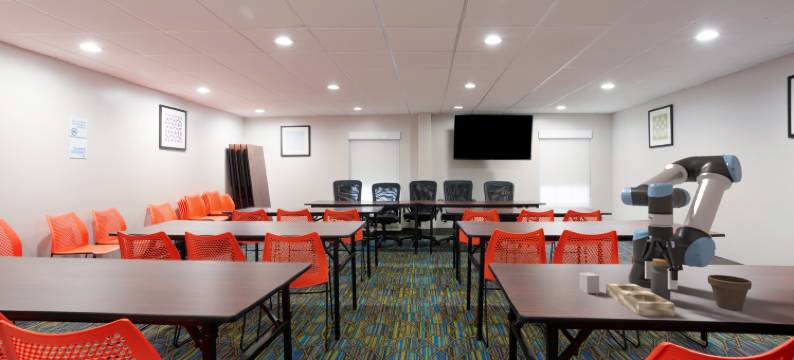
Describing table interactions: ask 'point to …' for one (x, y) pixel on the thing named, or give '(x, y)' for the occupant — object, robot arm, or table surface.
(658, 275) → the bottle
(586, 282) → the square bit
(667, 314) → the bore block
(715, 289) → the flower pot
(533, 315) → the table surface
